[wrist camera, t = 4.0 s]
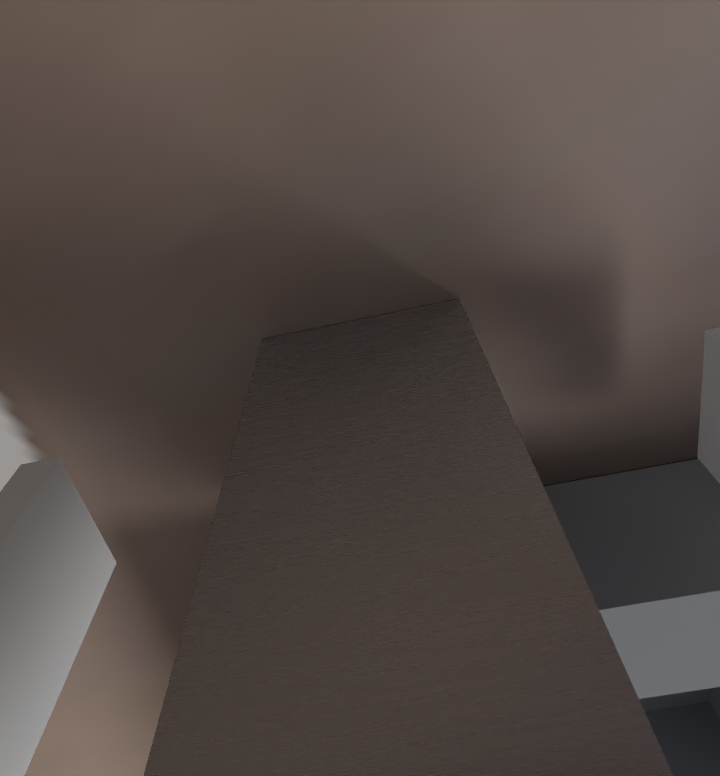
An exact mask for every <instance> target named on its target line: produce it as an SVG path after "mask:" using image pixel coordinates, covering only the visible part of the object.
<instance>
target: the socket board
mask: <svg viewBox="0 0 720 776" xmlns="http://www.w3.org/2000/svg"><path fill="white" fill-rule="evenodd" d="M544 488H545V491H546V493H547V495H548V497H549V500H550V502H551V504H552V506H553V509H554V511H555V513H556V515H557V517H558V520H559V522H560V524H561V526H562V529H563V531H564V533H565V535H566V538H567V540H568V542H569V544H570V546H571V549H572V551H573V553H574V555H575V558H576V560H577V562H578V564H579V566H580V569H581V571H582V573H583V575H584V578H585V580H586V582H587V584H588V587H589V589H590V591H591V593H592V595H593V598H594V600H595V602H596V604H597V607H598V609H599V611H600V613H601V616H602V618H603V620H604V622H605V624H606V627H607V629H608V631H609V633H610V636H611V638H612V640H613V642H614V644H615V647H616V649H617V651H618V653H619V656H620V658H621V660H622V662H623V665H624V667H625V669H626V671H627V673H628V676H629V678H630V680H631V682H632V685H633V687H634V689H635V691H636V694H637V696H638V698H639V700H640V702H641V705H642V707H643V709H644V711H645V714H646V716H647V718H648V720H649V722H650V725H651V727H652V729H653V731H654V734H655V736H656V738H657V740H658V743H659V745H660V747H661V749H662V751H663V754H664V756H665V758H666V760H667V763H668V765H669V767H670V769H671V772H672V774H673V776H720V483H719V482H718V481H717V480H716V479H715V478H714V476H713V475H712V474H711V473H710V472H709V471H708V469H707V468H706V467H705V466H704V465H703V464H702V462H701V461H700V460H699V459H694V460H688V461H683V462H677V463H672V464H666V465H661V466H655V467H650V468H644V469H638V470H633V471H627V472H622V473H616V474H611V475H605V476H600V477H594V478H589V479H583V480H577V481H572V482H566V483H561V484H555V485H550V486H544Z"/></svg>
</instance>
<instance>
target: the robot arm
mask: <svg viewBox="0 0 720 776" xmlns="http://www.w3.org/2000/svg"><path fill="white" fill-rule="evenodd" d="M697 458H698V459H699V460H700V461H701V462H702V464H703V465H704V466H705V467H706V468H707V469H708V471H709V472H710V473H711V474H712V475H713V476H714V478H715V479H716V480H717V481H718V482H719V483H720V327H718V328H712V329H707V330H705V339H704V356H703V373H702V389H701V406H700V423H699V439H698V456H697ZM115 565H116V561H115V559H114V557H113V555H112V553H111V552H110V550H109V548H108V546H107V544H106V542H105V541H104V539H103V537H102V535H101V533H100V531H99V530H98V528H97V526H96V524H95V522H94V520H93V519H92V517H91V515H90V513H89V511H88V509H87V508H86V506H85V504H84V502H83V500H82V499H81V497H80V495H79V493H78V491H77V489H76V488H75V486H74V484H73V482H72V480H71V478H70V477H69V475H68V473H67V471H66V469H65V467H64V466H63V464H62V462H61V460H60V458H59V457H58V458H53V459H48V460H43V461H38V462H33V463H27V464H22V465H21V466H20V467H19V468H18V469H17V471H16V472H15V473H14V475H13V476H12V477H11V479H10V480H9V481H8V483H7V484H6V485H5V487H4V488H3V489H2V491H1V492H0V776H24V775H25V773H26V771H27V768H28V766H29V764H30V761H31V759H32V757H33V754H34V752H35V750H36V748H37V745H38V743H39V741H40V738H41V736H42V734H43V731H44V729H45V727H46V724H47V722H48V720H49V718H50V715H51V713H52V711H53V708H54V706H55V704H56V701H57V699H58V697H59V694H60V692H61V690H62V688H63V685H64V683H65V681H66V678H67V676H68V674H69V671H70V669H71V667H72V665H73V662H74V660H75V658H76V655H77V653H78V651H79V648H80V646H81V644H82V641H83V639H84V637H85V635H86V632H87V630H88V628H89V625H90V623H91V621H92V618H93V616H94V614H95V611H96V609H97V607H98V605H99V602H100V600H101V598H102V595H103V593H104V591H105V588H106V586H107V584H108V582H109V579H110V577H111V575H112V572H113V570H114V568H115Z"/></svg>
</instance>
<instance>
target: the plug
mask: <svg viewBox="0 0 720 776" xmlns="http://www.w3.org/2000/svg"><path fill="white" fill-rule="evenodd" d="M144 776H673V774H672V772H671V769H670V767H669V765H668V763H667V760H666V758H665V756H664V754H663V751H662V749H661V747H660V745H659V743H658V740H657V738H656V736H655V734H654V731H653V729H652V727H651V725H650V722H649V720H648V718H647V716H646V714H645V711H644V709H643V707H642V705H641V702H640V700H639V698H638V696H637V694H636V691H635V689H634V687H633V685H632V682H631V680H630V678H629V676H628V673H627V671H626V669H625V667H624V665H623V662H622V660H621V658H620V656H619V653H618V651H617V649H616V647H615V644H614V642H613V640H612V638H611V636H610V633H609V631H608V629H607V627H606V624H605V622H604V620H603V618H602V616H601V613H600V611H599V609H598V607H597V604H596V602H595V600H594V598H593V595H592V593H591V591H590V589H589V587H588V584H587V582H586V580H585V578H584V575H583V573H582V571H581V569H580V566H579V564H578V562H577V560H576V558H575V555H574V553H573V551H572V549H571V546H570V544H569V542H568V540H567V538H566V535H565V533H564V531H563V529H562V526H561V524H560V522H559V520H558V517H557V515H556V513H555V511H554V509H553V506H552V504H551V502H550V500H549V497H548V495H547V493H546V491H545V488H544V486H543V484H542V482H541V480H540V477H539V475H538V473H537V471H536V468H535V466H534V464H533V462H532V460H531V457H530V455H529V453H528V451H527V448H526V446H525V444H524V442H523V439H522V437H521V435H520V433H519V431H518V428H517V426H516V424H515V422H514V419H513V417H512V415H511V413H510V410H509V408H508V406H507V404H506V402H505V399H504V397H503V395H502V393H501V390H500V388H499V386H498V384H497V382H496V379H495V377H494V375H493V373H492V370H491V368H490V366H489V364H488V361H487V359H486V357H485V355H484V353H483V350H482V348H481V346H480V344H479V341H478V339H477V337H476V335H475V332H474V330H473V328H472V326H471V324H470V321H469V319H468V317H467V315H466V312H465V310H464V308H463V306H462V304H461V301H460V299H455V300H450V301H445V302H441V303H436V304H431V305H426V306H421V307H417V308H412V309H407V310H402V311H397V312H392V313H388V314H383V315H378V316H373V317H368V318H363V319H359V320H354V321H349V322H344V323H339V324H334V325H330V326H325V327H320V328H315V329H310V330H306V331H301V332H296V333H291V334H286V335H281V336H277V337H272V338H267V339H262V341H261V345H260V348H259V352H258V356H257V359H256V363H255V367H254V370H253V374H252V378H251V381H250V385H249V389H248V392H247V396H246V400H245V404H244V407H243V411H242V415H241V418H240V422H239V426H238V429H237V433H236V437H235V440H234V444H233V448H232V451H231V455H230V459H229V463H228V466H227V470H226V474H225V477H224V481H223V485H222V488H221V492H220V496H219V499H218V503H217V507H216V511H215V514H214V518H213V522H212V525H211V529H210V533H209V536H208V540H207V544H206V547H205V551H204V555H203V558H202V562H201V566H200V570H199V573H198V577H197V581H196V584H195V588H194V592H193V595H192V599H191V603H190V606H189V610H188V614H187V618H186V621H185V625H184V629H183V632H182V636H181V640H180V643H179V647H178V651H177V654H176V658H175V662H174V665H173V669H172V673H171V677H170V680H169V684H168V688H167V691H166V695H165V699H164V702H163V706H162V710H161V713H160V717H159V721H158V725H157V728H156V732H155V736H154V739H153V743H152V747H151V750H150V754H149V758H148V761H147V765H146V769H145V772H144Z"/></svg>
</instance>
